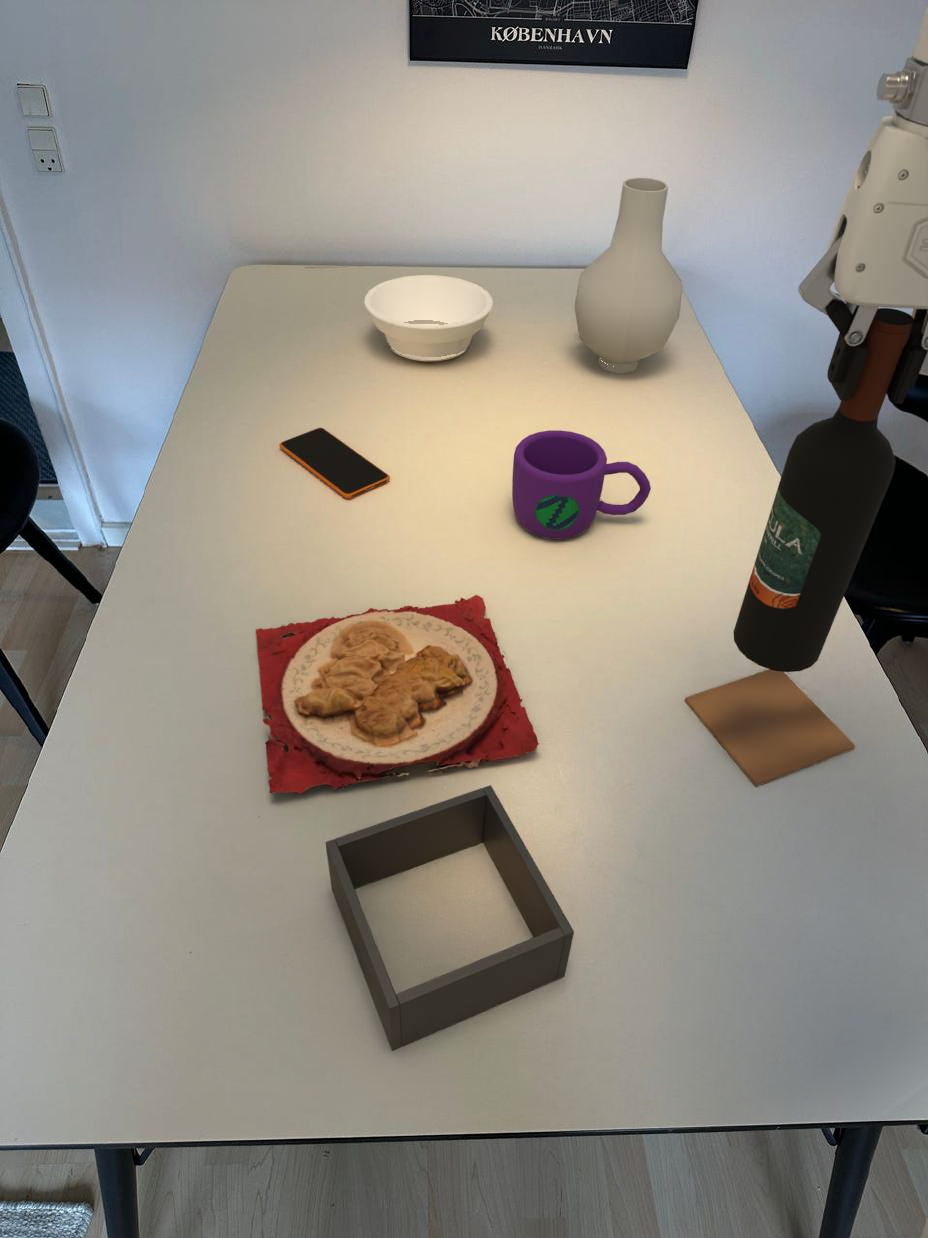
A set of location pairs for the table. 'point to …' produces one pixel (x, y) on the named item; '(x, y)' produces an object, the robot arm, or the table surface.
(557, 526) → the mug
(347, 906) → the grey square tray frame
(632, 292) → the vase
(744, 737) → the cork mat
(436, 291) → the bowl
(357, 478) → the smartphone
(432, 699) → the plate with food
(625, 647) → the table surface
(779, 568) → the wine bottle
